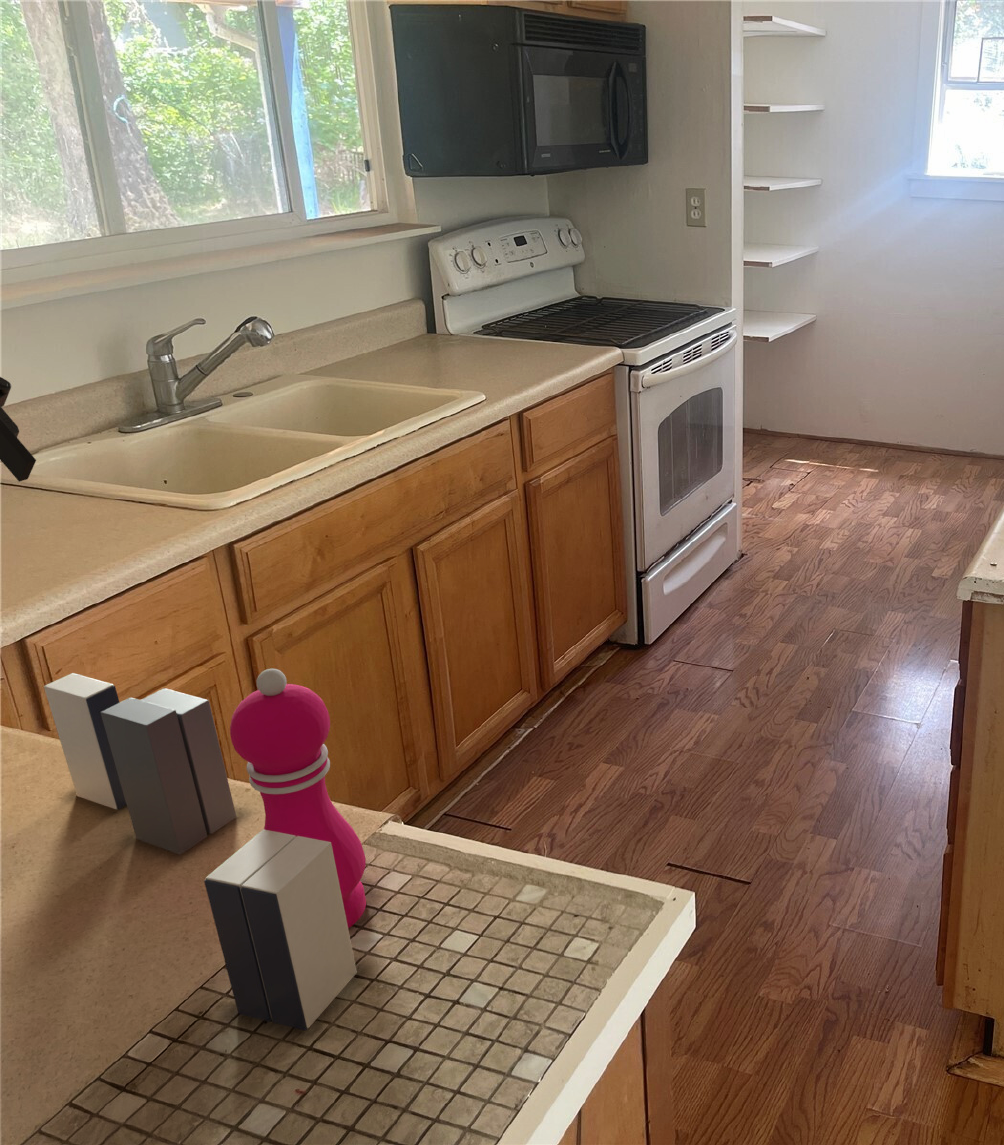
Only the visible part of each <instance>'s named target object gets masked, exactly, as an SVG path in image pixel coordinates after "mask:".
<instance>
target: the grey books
mask: <svg viewBox="0 0 1004 1145" xmlns="http://www.w3.org/2000/svg"><path fill="white" fill-rule="evenodd" d="M119 702H120V703H118V704H116V705H114V706H112V707H110V708H108V709H106V710H104V711H102V712H101V716H102V720H103V723H104V727H105V730H106V734H107V737H108V741H109V744H110V748H111V751H112V755H113V758H114V762H115V765H116V769H117V772H118V776H119V779H120V783H121V786H122V790H123V794H124V797H125V801H126V804H127V805H126V807H127V808H126V809H127V812H128V815H129V817H130V822H131V825H132V828H133V833H134V836H135V839H136V840H139V841H141V842H144V843H147V844H149V845H152V846H155V847H158V848H161V849H163V850H167V851H169V852H171V853H174V854H178V855H182V854H183V853H185V852H187V851H188V850H190V849H192V848H193V847H194V846H196V845H197V844H199V843H200V842H202V841H203V840H205V839H206V838H208V834H209V835H212V834H214V833H216V832H217V831H219V830H220V829H221V828H223V827H224V826H226V825H228V824H229V823H230V822H232V821H233V820H235V819H236V818H237V812H236V809H235V805H234V800H233V796H232V792H231V787H230V783H229V779H228V775H227V771H226V766H225V763H224V758H223V754H222V750H221V745H220V741H219V738H218V734H217V729H216V724H215V721H214V716H213V712H212V708H211V703H210V700H209V699H206V698H203V697H199V696H195V695H191V694H187V693H184V692H180V691H176V690H173V689H169V688H166V687H163V688H161V689H159V690H157V691H156V692H153V693H151V694H149V695H147V696H146V697H143V698H142V699H139V698H134V697H128V698H126V699H124V700H121V701H119Z"/></svg>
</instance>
